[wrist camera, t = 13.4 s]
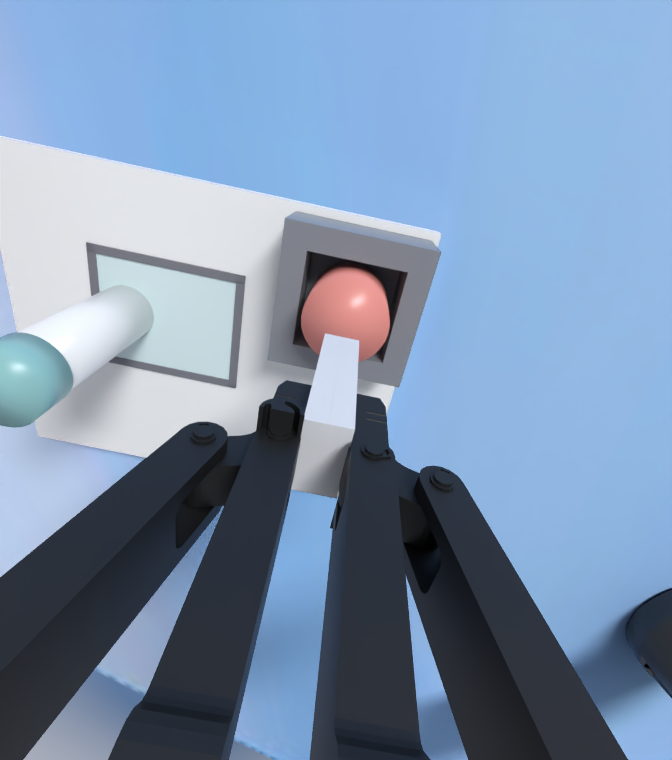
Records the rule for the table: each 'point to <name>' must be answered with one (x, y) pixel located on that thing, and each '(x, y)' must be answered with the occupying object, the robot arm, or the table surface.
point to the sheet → (155, 289)
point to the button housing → (358, 245)
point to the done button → (347, 308)
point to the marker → (67, 351)
